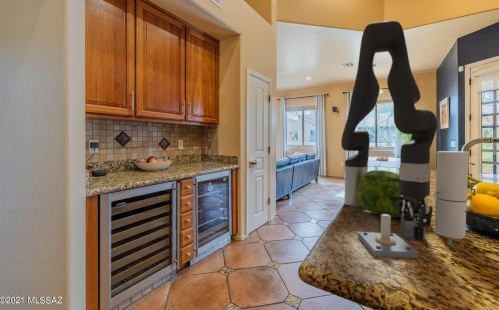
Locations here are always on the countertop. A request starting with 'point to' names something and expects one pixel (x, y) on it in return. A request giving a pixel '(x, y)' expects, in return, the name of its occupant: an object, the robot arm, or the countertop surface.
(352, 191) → the robot arm
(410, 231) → the collar
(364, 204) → the lettuce
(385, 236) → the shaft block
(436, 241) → the countertop surface
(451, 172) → the cylindrical container
